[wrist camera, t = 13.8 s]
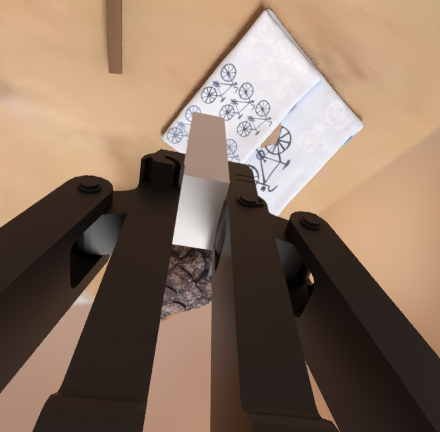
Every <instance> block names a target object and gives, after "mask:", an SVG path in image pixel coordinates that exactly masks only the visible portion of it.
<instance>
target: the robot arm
mask: <svg viewBox="0 0 440 432" xmlns="http://www.w3.org/2000/svg"><path fill="white" fill-rule="evenodd" d="M214 243H215V251H214V255H213V258H212V262H211V266H210V270H209V274H208V276H211V275H212V328H211V329H212V330H211V333H212V334H211V337H212V338H211V415H210V418H211V420H210V432H339V431H340V432H440V358H439V357H438V355H437V354H436V353H435V352H434V351H433V349H431V347H430V346H429V345H428V343H427V342H426V341H425V340H424V339H423V337H422V336H421V335H420V334H419V333H418V331H417V330H416V329H415V328H414V327H413V325H412V324H411V323H410V322H409V321H408V319H407V318H406V317H405V316H404V314H403V313H402V312H401V311H400V310H399V308H398V307H397V306H396V305H395V304H394V302H393V301H392V300H391V299H390V298H389V296H387V294H386V293H385V292H384V290H383V289H382V288H381V287H380V286H379V284H378V283H377V282H376V281H375V280H374V278H373V277H372V276H371V275H370V274H369V272H368V271H367V270H366V269H365V268H364V266H363V265H362V264H361V263H360V262H359V260H358V259H357V258H356V257H355V255H354V254H353V253H352V252H351V251H350V249H349V248H348V247H347V246H346V245H345V244H344V242H343V241H342V240H341V239H340V238H339V236H338V235H337V234H336V233H335V231H334V230H333V229H332V228H331V227H330V225H329V224H328V223H327V222H326V221H324V220H323V219H322V218H320V217H319V216H317V215H316V214H312V213H310V212H302V211H300V212H294V213H292V214H291V216H290V219H289V220H286V219H283V218H280V217H278V216H275V215H273V214H271V213H269V210H268V206H267V203H266V202H265V200H264V199H262V198H261V197H260V196H258V193H257V188H256V183H255V179H254V174H253V170H252V169H251V168H250V167H249V166H248V165H247V164H242V163H237V162H231V161H228V155H227V143H226V130H225V118H223V117H218V116H213V115H208V114H203V113H198V112H193V115H192V120H191V126H190V132H189V138H188V143H187V149H186V154H184V153H179V152H173V151H168V150H163V149H161V150H159V151H157V152H156V153H153V154H148V155H145V156H144V157H143V158H142V159H141V169H140V179H139V184H138V187H137V188H136V189H133V190H128V191H113V186H112V184H111V183H110V182H109V181H108V180H106V179H103V178H101V177H96V176H91V175H90V176H88V175H84V176H79V177H75V178H72V179H70V180H68V181H67V182H65V183H64V184H63V185H61V186H60V187H58V188H57V189H55V190H54V191H52V192H51V193H50V194H48V195H47V196H45V197H44V198H42V199H41V200H39V201H38V202H37V203H35V204H34V205H32V206H31V207H29V208H28V209H27V210H25V211H24V212H22V213H21V214H19V215H18V216H16V217H15V218H14V219H12V220H11V221H9V222H8V223H6V224H5V225H3V226H2V227H1V228H0V393H1V392H2V390H3V389H4V388H5V387H6V385H7V384H8V383H9V382H10V381H11V379H12V378H13V377H14V376H15V375H16V373H17V372H18V371H19V370H20V368H21V367H22V366H23V365H24V363H25V362H26V361H27V360H28V358H29V357H30V356H31V355H32V354H33V352H34V351H35V350H36V349H37V347H38V346H39V345H40V344H41V342H42V341H43V340H44V339H45V338H46V336H47V335H48V334H49V333H50V331H51V330H52V329H53V328H54V326H55V325H56V324H57V323H58V322H59V320H60V319H61V318H62V317H63V315H64V314H65V313H66V312H67V311H68V309H69V308H70V307H71V306H72V304H73V303H74V302H75V301H76V299H77V298H78V297H79V296H80V295H81V293H82V292H83V291H84V290H85V288H86V287H87V286H88V285H89V283H90V282H91V281H92V280H93V279H94V277H95V276H96V275H97V274H98V272H99V271H100V270H101V269H102V267H103V266H104V265H105V264H106V263H107V261H108V259H109V257H110V254H112V255H111V258H110V260H109V263H108V265H107V268H106V271H105V273H104V276H103V278H102V281H101V284H100V286H99V289H98V292H97V294H96V297H95V299H94V302H93V305H92V308H91V310H90V312H89V315H88V318H87V320H86V323H85V326H84V328H83V331H82V333H81V336H80V339H79V341H78V344H77V347H76V349H75V352H74V354H73V357H72V359H71V362H70V365H69V368H68V370H67V373H66V375H65V378H64V381H63V383H62V385H61V387H60V389H59V390H58V392H57V393H54V394H52V395H50V397H49V398H48V400H47V401H46V403H45V405H44V406H43V409H42V411H41V413H40V415H39V417H38V420H37V422H36V425H35V427H34V429H33V432H143V425H144V419H145V413H146V406H147V398H148V392H149V386H150V380H151V374H152V367H153V361H154V355H155V349H156V342H157V335H158V330H159V324H160V317H161V311H162V305H163V299H164V293H165V286H166V280H167V274H168V268H169V261H170V255H171V249H172V244H175V245H182V246H188V247H195V248H201V249H207V250H213V247H214ZM311 273H312V276H313V278H314V283H312V282H311V281H310V279H309V276H310V274H311ZM305 361H306V363H307V365H308V367H309V369H310V371H311V373H312V375H313V377H314V379H315V381H316V383H317V385H318V387H319V390H320V391H321V394H322V396H323V398H324V400H325V402H326V404H327V406H328V408H329V410H330V412H331V414H332V416H333V418H334V420H335V422H336V424H337V426H338V429H339V430H338V429H337V428H336V426H335V425H334V424H333V422H331V421H329V420H326V419H323V418H321V416H320V415H319V413H318V410H317V408H316V404H315V400H314V396H313V392H312V388H311V384H310V379H309V376H308V371H307V367H306V363H305Z"/></svg>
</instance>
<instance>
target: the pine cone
mask: <svg viewBox="0 0 440 432" xmlns="http://www.w3.org/2000/svg"><path fill="white" fill-rule="evenodd" d="M214 251H215V243H214V247H213V250H207V249H201V248H195V247H188V246H182V245H175V244H172V249H171V255H170V261H169V268H168V274H167V280H166V286H165V293H164V299H163V305H162V311H161V317H160V319H164V318H166V316H167V315H171V314H174V313H180V312H185V311H189V310H191V308H200V307H202V306H205V305H206V304H208V303H209V302H211V301H212V275H211V276H208V274H209V270H210V266H211V262H212V258H213V255H214Z"/></svg>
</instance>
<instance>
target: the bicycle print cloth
mask: <svg viewBox="0 0 440 432" xmlns="http://www.w3.org/2000/svg"><path fill="white" fill-rule="evenodd" d="M193 112H198V113H203V114H208V115H213V116H218V117H223V118H225V130H226V143H227V155H228V161H231V162H237V163H242V164H247V165H248V166H249V167H250V168H251V169H252V170H253V174H254V179H255V183H256V188H257V193H258V196H260V197H261V198H262V199H264V200H265V202H266V203H267V206H268V210H269V213H271V214H273V215H275V216H278V215H279V214H280V213H281V211H282V210H283V209H284V208H285V206H286V205H287V204H288V203H289V202H290V201H291V200H292V199H293V198H294V197H295V196H296V194H297V193H298V192H299V191H300V190H301V189H302V188H303V187H304V186H305V185H306V184H307V183H308V181H309V180H310V179H311V178H312V177H313V176H314V175H315V174H316V173H317V172H318V171H319V170H320V169H321V167H322V166H323V165H324V164H325V163H326V162H327V161H328V160H329V159H330V158H331V157H332V156H333V155H334V153H335V152H336V151H337V150H338V149H339V148H340V147H343V146H344V145H346V144H347V143H348V142H349V141H350V140H351V139H352V138H353V137H354V136H355V135H356V134H357V133H358V132H359V131H360V129H362V128H363V127H364V124H363V122H362V121H361V120H360V119H359V118H358V117H357V116H356V115H355V114H354V113H353V112H352V110H351V109H350V108H349V107H348V106H347V105H346V104H345V103H344V101H343V100H342V99H341V98H340V97H339V95H338V94H337V93H336V92H335V91H334V89H333V88H332V87H331V86H330V84H329V83H328V82H327V80H326V79H325V78H324V77H323V76H322V74H321V73H320V72H319V71H318V69H317V68H316V67H315V66H314V64H313V63H312V62H311V60H310V59H309V58H308V57H307V56H306V54H305V53H304V52H303V51H302V50H301V48H300V47H299V46H298V44H297V43H296V42H295V41H294V39H293V38H292V37H291V35H290V34H289V33H288V32H287V30H286V29H285V28H284V26H283V25H282V24H281V22H280V21H279V20H278V18H277V17H276V15H275V14H274V13H273V12H272V11H271V10H270V9H268V8H267V9H266V11H265V10H264V11H263V12H262V13H261V15H260V16H259V17H258V19H257V20H256V21H255V22H254V24H253V25H252V26H251V27H250V29H249V30H248V31H247V32H246V34H245V35H244V36H243V37H242V39H241V40H240V41H239V42H238V43H237V45H236V46H235V47H234V48H233V49H232V51H231V52H230V53H229V54H228V55H227V56H226V57H225V59H224V60H223V61H222V62H221V63H220V64H219V66H218V67H217V68H216V69H215V71H214V72H213V73H212V74H211V76H210V77H209V78H208V79H207V81H206V82H205V83H204V85H203V86H202V87H201V88H200V89H199V91H198V92H197V93H196V94H195V96H194V97H193V98H192V99H191V101H190V102H189V103H188V104H187V105H186V106H185V107H184V109H183V110H182V111H181V112H180V114H179V115H178V116H177V118H176V119H175V120H174V121H173V123H172V124H171V125H170V127H169V128H168V129H167V131H166V132H165V133H164V134H163V136H162V137H161V139H162V140H163V141H164V142H166V143H167V144H169V145H170V146H171V147H173V148H174V149H175V150H177V151H178V152H180V153H184V154H186V149H187V143H188V138H189V132H190V126H191V120H192V115H193ZM280 122H281V131H280V135H279V138H278V141H277V143H276V144H275V145H270V144H269V146H267V147H266V146H265V147H264V148H263V149H262V148H261V147H260V145H261V144H262V142H263V141H264V140H265V139H266V138H267V137H268V136H269V135H270V134H271V132H272V131H273V130H274V129H275V128H276V127H277V125H278V124H279V123H280ZM343 144H344V145H343Z"/></svg>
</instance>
